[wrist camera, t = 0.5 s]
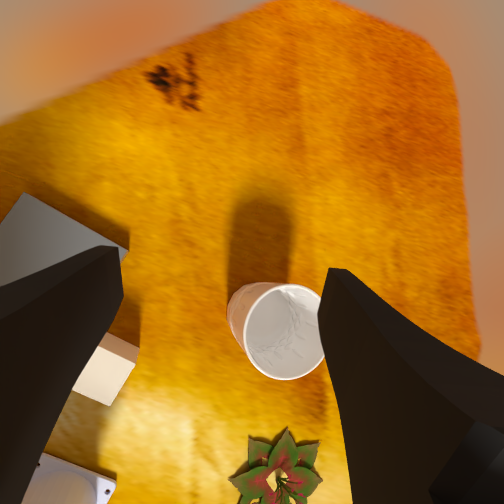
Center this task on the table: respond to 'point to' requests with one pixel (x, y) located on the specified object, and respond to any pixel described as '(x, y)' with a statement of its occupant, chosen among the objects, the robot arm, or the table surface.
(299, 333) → the white cup
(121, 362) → the cream block
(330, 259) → the table surface
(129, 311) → the table surface
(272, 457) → the lily flower
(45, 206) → the slate tile
